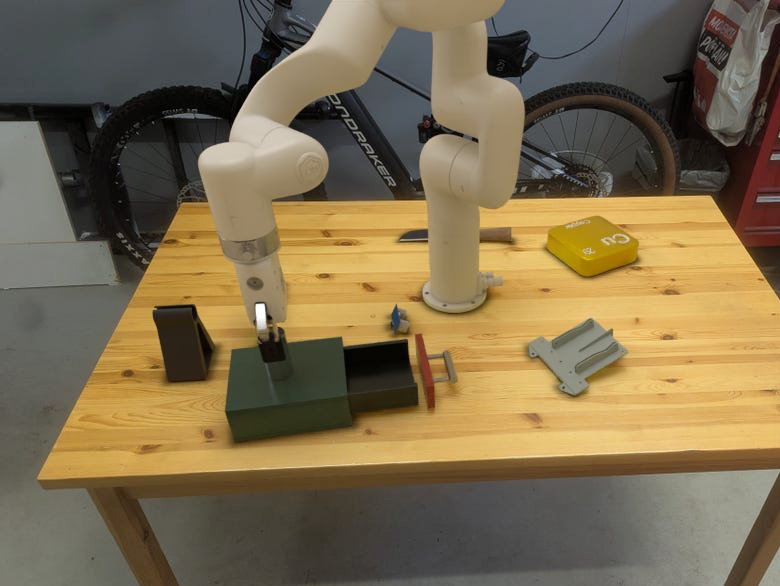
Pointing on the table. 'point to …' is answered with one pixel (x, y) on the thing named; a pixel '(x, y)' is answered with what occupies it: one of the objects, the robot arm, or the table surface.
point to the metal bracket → (578, 354)
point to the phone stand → (183, 342)
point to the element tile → (592, 245)
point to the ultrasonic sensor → (399, 320)
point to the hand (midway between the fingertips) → (275, 339)
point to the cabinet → (288, 392)
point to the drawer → (390, 375)
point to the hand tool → (485, 234)
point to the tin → (281, 368)
